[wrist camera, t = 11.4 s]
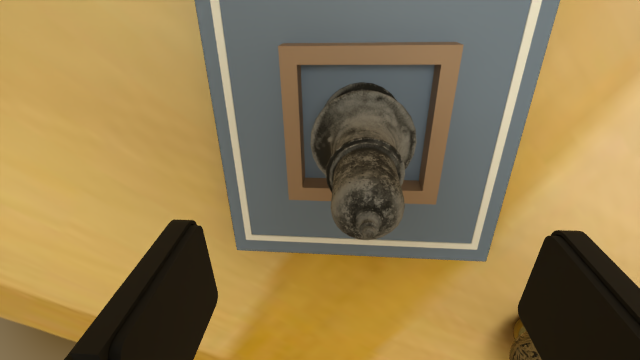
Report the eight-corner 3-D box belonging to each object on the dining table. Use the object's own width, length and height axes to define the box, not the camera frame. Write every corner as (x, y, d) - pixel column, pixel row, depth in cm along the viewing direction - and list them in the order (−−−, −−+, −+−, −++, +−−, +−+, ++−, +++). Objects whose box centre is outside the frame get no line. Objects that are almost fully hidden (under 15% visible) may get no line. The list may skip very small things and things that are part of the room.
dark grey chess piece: (426, 121, 21) (499, 238, 11) (361, 179, 24) (368, 322, 13) (361, 56, 20) (370, 116, 9) (298, 125, 22) (248, 236, 12)
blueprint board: (189, -76, 18) (167, -86, 16) (574, -91, 17) (608, -105, 14) (240, 242, 29) (231, 262, 26) (481, 252, 27) (493, 275, 25)
